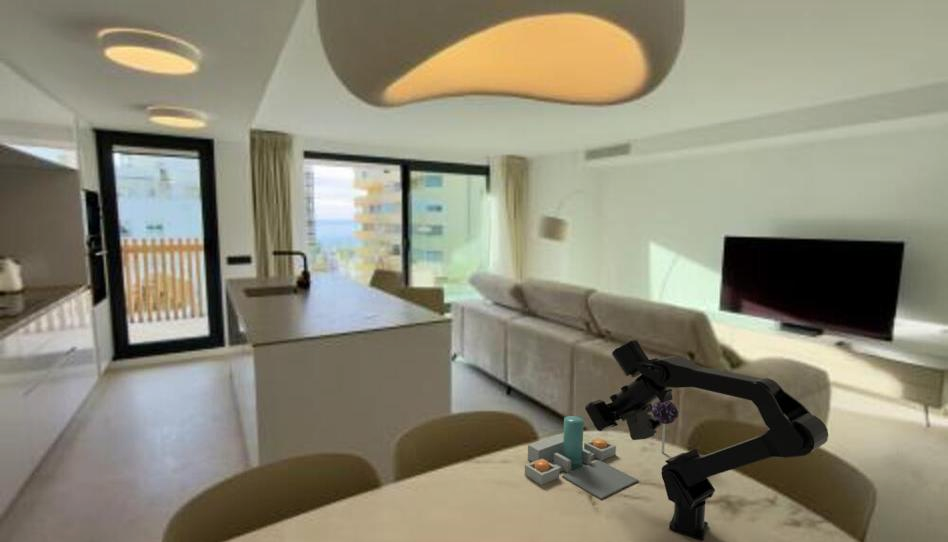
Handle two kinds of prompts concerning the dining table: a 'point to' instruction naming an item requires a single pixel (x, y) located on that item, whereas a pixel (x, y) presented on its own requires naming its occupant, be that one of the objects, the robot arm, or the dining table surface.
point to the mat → (600, 479)
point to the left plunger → (542, 465)
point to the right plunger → (600, 443)
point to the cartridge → (573, 440)
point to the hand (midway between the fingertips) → (598, 424)
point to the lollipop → (665, 415)
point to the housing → (560, 457)
